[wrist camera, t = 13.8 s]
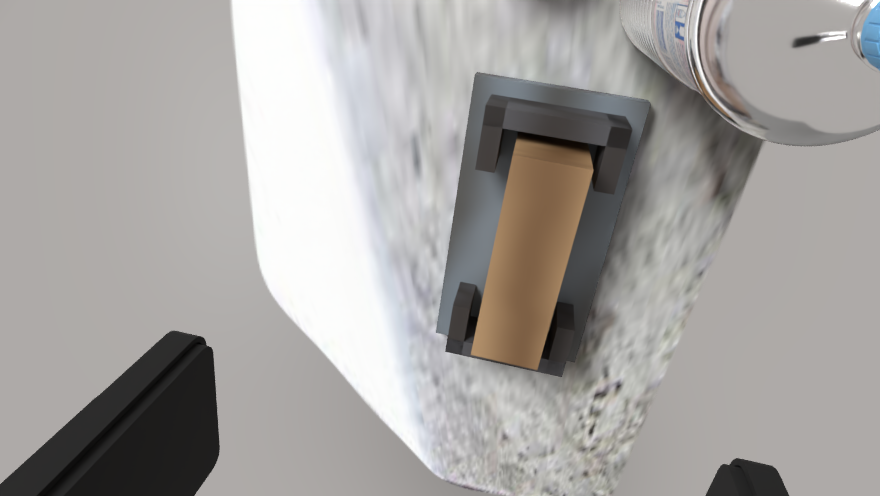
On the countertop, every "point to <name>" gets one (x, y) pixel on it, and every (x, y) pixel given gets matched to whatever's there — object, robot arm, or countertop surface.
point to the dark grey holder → (483, 187)
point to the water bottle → (771, 62)
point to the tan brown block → (532, 247)
